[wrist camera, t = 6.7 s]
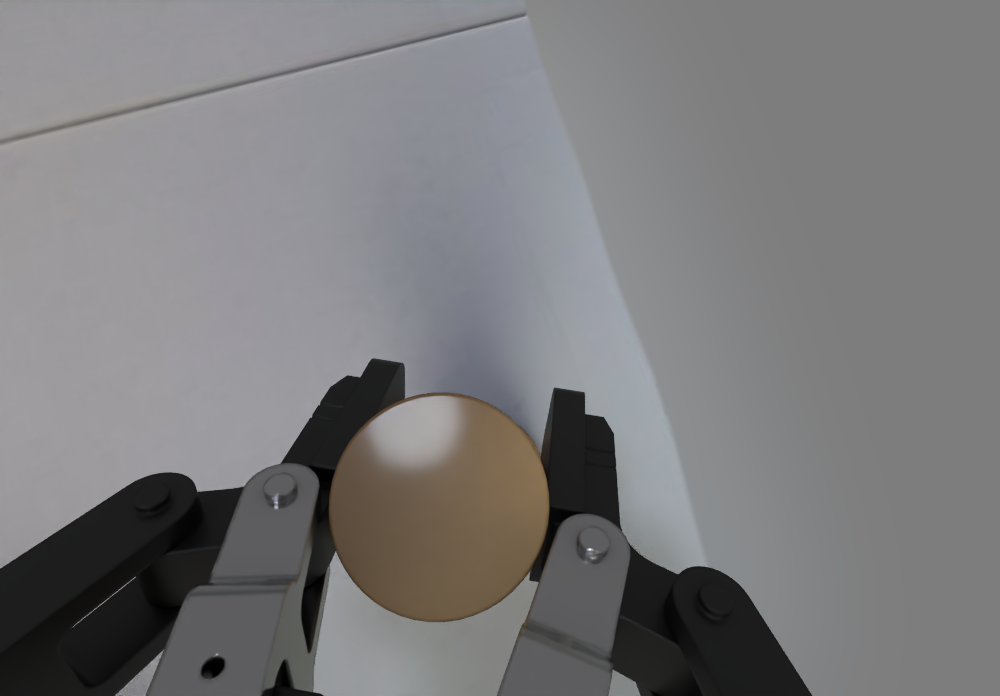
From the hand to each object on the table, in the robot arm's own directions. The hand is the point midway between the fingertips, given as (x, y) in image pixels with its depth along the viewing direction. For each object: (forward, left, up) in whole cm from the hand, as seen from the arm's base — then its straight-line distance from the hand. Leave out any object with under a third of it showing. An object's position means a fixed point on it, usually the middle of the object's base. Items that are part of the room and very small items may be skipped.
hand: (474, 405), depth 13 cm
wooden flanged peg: (-1, +2, -9) cm, 9 cm away
